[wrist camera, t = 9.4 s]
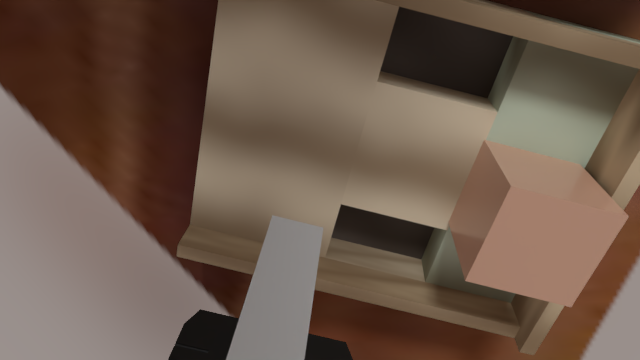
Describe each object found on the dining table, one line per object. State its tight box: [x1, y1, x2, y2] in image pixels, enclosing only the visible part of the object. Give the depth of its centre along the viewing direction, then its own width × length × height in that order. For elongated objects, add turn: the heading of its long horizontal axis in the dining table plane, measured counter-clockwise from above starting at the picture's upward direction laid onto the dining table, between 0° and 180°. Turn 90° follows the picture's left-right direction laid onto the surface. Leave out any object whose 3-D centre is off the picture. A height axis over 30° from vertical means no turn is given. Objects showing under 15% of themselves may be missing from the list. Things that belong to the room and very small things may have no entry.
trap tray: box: [177, 0, 640, 355], centre depth 24 cm, size 16×20×6 cm
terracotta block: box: [448, 140, 629, 307], centre depth 23 cm, size 5×5×5 cm
